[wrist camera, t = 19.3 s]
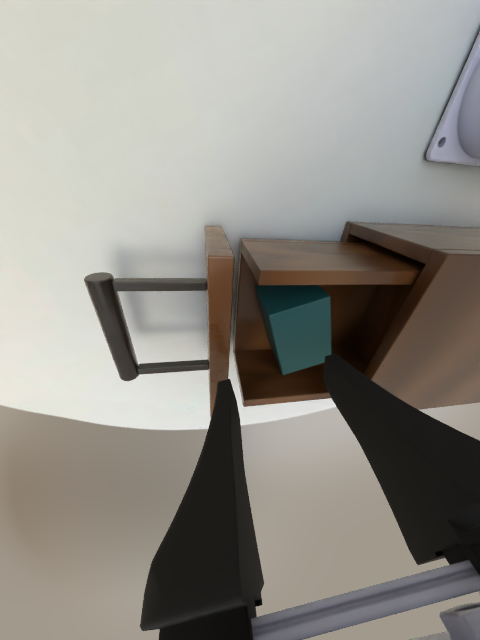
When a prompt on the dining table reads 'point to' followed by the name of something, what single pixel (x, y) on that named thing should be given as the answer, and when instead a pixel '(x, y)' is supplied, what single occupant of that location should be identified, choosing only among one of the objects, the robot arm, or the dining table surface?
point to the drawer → (250, 334)
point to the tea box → (296, 324)
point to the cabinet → (430, 315)
